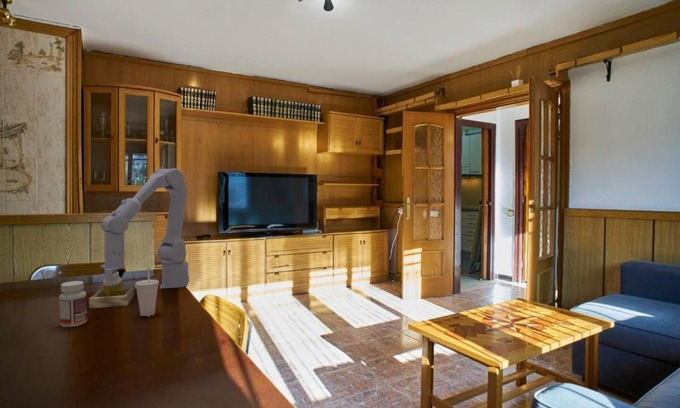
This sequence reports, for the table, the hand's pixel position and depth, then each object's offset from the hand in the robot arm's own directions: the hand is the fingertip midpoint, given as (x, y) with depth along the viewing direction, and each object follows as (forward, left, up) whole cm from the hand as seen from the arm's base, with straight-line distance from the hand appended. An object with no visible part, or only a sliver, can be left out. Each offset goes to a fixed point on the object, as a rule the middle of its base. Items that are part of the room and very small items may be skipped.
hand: (114, 292), depth 131 cm
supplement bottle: (0, +2, -2) cm, 3 cm away
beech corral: (0, +5, -2) cm, 5 cm away
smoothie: (-13, +21, -2) cm, 25 cm away
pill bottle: (+5, +24, -2) cm, 24 cm away
